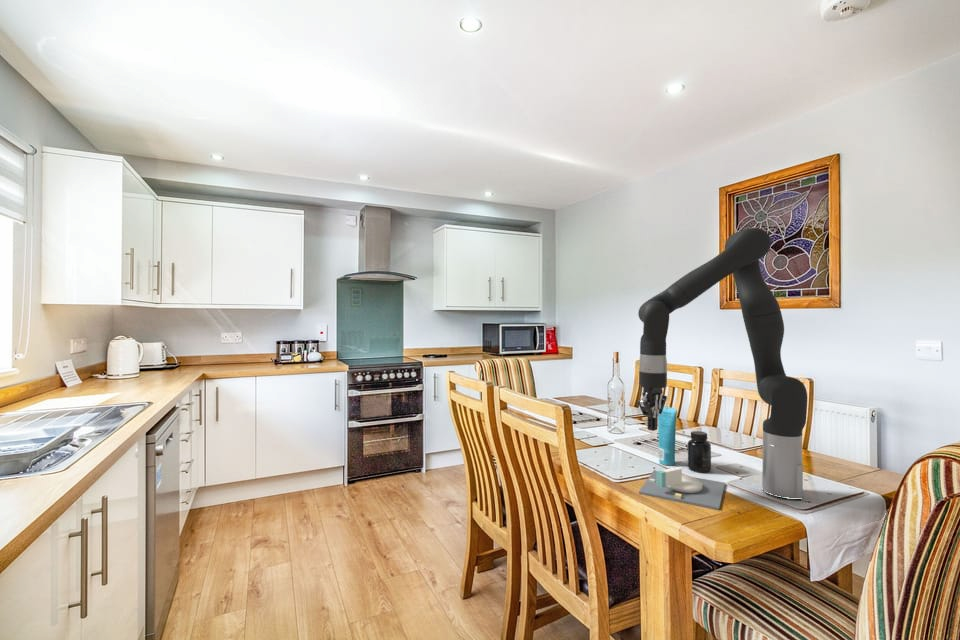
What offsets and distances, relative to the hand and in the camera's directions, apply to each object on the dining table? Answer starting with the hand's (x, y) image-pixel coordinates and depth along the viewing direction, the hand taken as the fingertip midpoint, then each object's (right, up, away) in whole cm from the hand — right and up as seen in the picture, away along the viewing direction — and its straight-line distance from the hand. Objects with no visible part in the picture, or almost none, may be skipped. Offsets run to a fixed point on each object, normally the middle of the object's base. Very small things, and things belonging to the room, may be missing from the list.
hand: (652, 429), depth 130 cm
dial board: (+9, -17, 0) cm, 19 cm away
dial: (+7, -16, -1) cm, 18 cm away
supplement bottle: (+21, -17, +16) cm, 32 cm away
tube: (+13, -17, +22) cm, 31 cm away
